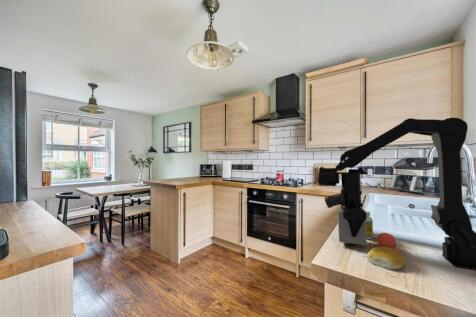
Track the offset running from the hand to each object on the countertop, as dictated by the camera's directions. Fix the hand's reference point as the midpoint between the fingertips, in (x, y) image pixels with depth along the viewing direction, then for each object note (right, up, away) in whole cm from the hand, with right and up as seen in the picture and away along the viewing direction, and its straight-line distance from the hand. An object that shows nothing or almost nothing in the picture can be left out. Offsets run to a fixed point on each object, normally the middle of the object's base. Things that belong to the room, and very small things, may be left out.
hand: (352, 232), depth 67 cm
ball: (+9, -1, -4) cm, 10 cm away
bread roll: (+2, -4, -12) cm, 13 cm away
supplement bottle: (+8, -4, +6) cm, 11 cm away
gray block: (0, -2, 0) cm, 2 cm away
